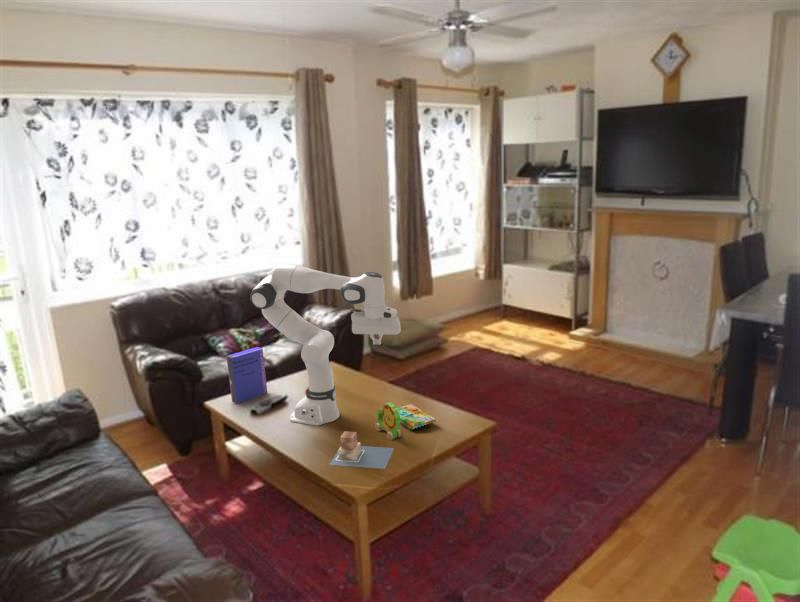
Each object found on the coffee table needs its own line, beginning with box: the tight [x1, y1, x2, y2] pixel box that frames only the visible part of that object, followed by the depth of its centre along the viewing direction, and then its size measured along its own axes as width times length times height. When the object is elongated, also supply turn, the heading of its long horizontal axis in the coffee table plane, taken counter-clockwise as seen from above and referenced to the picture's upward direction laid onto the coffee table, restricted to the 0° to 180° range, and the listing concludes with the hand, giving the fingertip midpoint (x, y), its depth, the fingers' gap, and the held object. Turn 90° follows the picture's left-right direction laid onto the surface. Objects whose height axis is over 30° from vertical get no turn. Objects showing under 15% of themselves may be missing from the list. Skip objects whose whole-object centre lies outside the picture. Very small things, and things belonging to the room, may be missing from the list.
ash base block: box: [337, 441, 362, 460], centre depth 224 cm, size 7×7×4 cm
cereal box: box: [226, 346, 268, 404], centre depth 285 cm, size 17×5×24 cm, turn 136°
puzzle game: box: [396, 403, 437, 431], centre depth 252 cm, size 12×5×20 cm
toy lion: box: [374, 402, 402, 441], centre depth 239 cm, size 16×5×15 cm, turn 33°
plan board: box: [328, 445, 395, 470], centre depth 223 cm, size 22×16×1 cm
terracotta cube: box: [339, 430, 358, 450], centre depth 223 cm, size 5×5×5 cm
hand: (377, 344), depth 236 cm, fingers closed
